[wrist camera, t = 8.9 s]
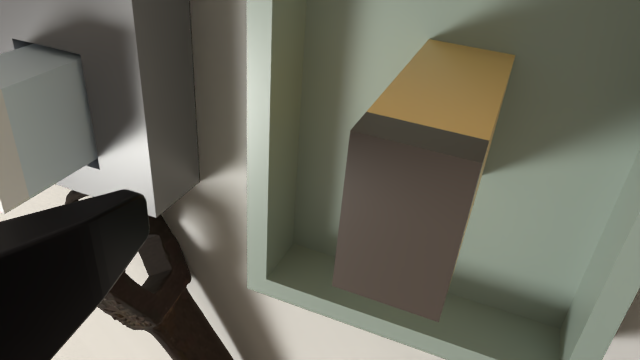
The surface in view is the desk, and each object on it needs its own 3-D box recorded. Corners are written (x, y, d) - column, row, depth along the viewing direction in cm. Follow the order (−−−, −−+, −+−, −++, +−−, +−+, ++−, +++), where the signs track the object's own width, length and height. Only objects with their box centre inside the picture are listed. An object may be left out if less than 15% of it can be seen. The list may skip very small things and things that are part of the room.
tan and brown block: (515, 55, 15) (482, 163, 9) (482, 175, 17) (438, 322, 11) (429, 38, 16) (349, 130, 10) (407, 156, 18) (332, 285, 12)
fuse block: (176, -221, 16) (104, -238, 13) (199, 181, 23) (156, 217, 21) (-23, -229, 18) (-115, -245, 16) (56, 138, 25) (2, 166, 23)
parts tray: (828, -193, 11) (900, -211, 9) (576, 340, 19) (577, 406, 17) (299, -215, 14) (246, -233, 12) (281, 244, 23) (247, 288, 20)
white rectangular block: (132, 39, 21) (-29, 100, 15) (143, 130, 23) (4, 214, 17) (82, 28, 21) (-90, 82, 16) (97, 118, 24) (-51, 193, 18)
